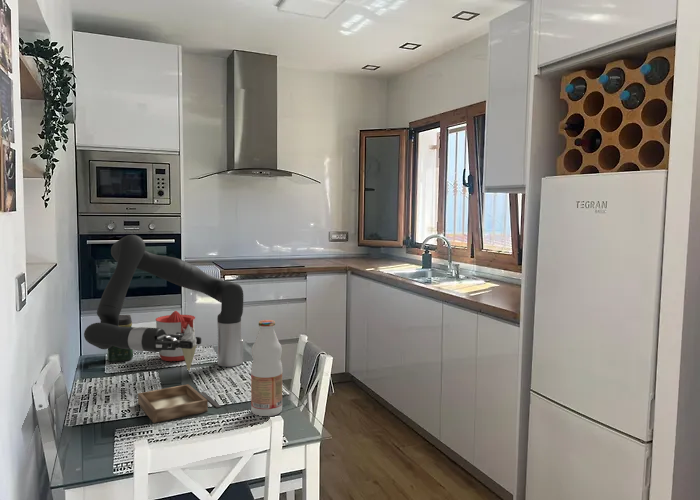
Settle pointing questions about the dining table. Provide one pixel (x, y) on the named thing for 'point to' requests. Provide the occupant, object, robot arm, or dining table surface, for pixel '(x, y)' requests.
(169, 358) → the citrus juicer
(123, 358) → the coffee jar
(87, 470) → the dining table surface
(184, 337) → the ice cream cone
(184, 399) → the tray
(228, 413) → the dining table surface
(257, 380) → the fruit juice
